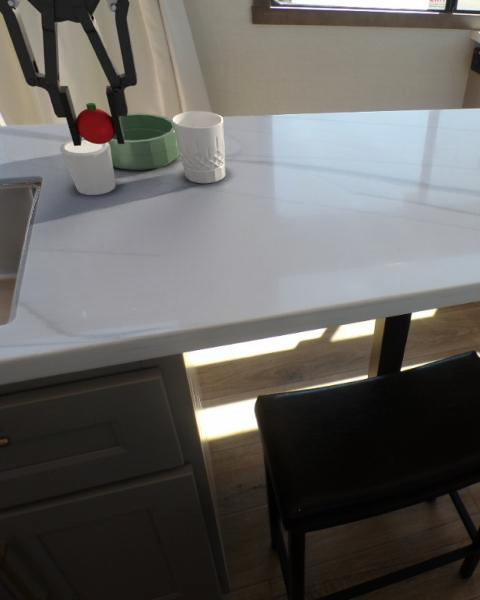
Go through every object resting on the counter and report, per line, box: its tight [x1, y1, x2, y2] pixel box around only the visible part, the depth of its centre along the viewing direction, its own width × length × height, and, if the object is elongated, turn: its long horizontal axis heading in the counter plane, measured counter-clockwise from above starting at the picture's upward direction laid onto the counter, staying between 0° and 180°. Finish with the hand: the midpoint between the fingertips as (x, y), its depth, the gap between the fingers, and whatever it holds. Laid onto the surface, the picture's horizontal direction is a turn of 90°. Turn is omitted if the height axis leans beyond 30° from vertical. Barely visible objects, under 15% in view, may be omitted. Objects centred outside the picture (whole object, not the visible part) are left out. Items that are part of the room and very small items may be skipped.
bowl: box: [109, 112, 180, 171], centre depth 93 cm, size 14×14×6 cm
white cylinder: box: [59, 137, 117, 196], centre depth 83 cm, size 7×7×7 cm
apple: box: [76, 102, 115, 144], centre depth 66 cm, size 4×4×5 cm
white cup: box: [171, 110, 226, 184], centre depth 89 cm, size 8×8×10 cm
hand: (99, 140), depth 67 cm, fingers closed on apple, 4 cm apart
